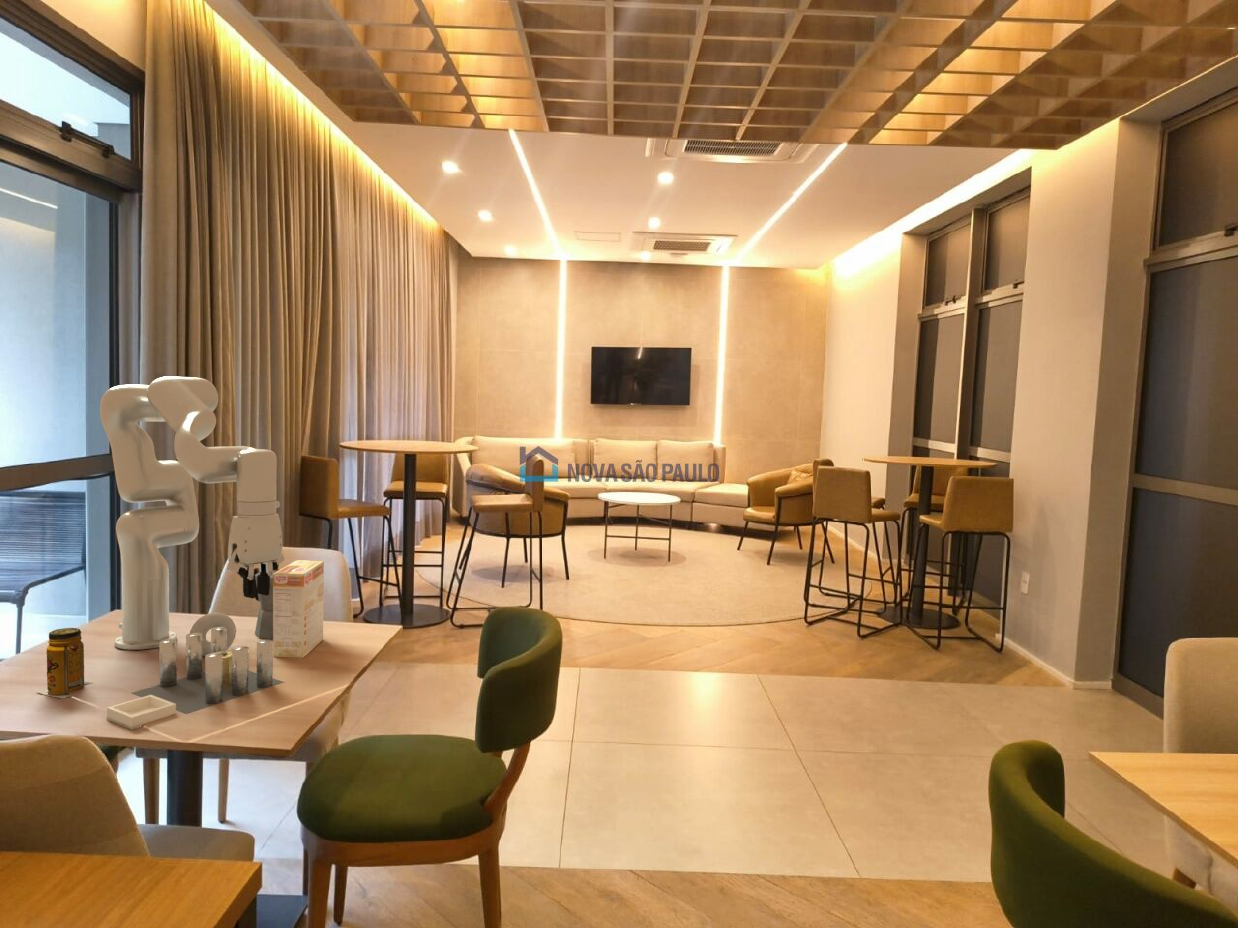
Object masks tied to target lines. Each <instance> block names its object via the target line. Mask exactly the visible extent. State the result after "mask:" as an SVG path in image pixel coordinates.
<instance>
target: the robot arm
mask: <svg viewBox="0 0 1238 928" xmlns="http://www.w3.org/2000/svg"><path fill="white" fill-rule="evenodd" d="M218 403H219V393H218V391H217V389H216V387H215V386H214V384H213V383H212V382H211V381H209V380H208V379H206V378H202V377H196V376H195V377H194V376H193V377H191V376H162V377H159V378H156V379H154V380H152V382H150V384H149V385H148V384H121V385H116V386H113V387H111V388H108V389H107V390H106V391H105V392H104V394H103V395H102V396H101V400H100V405H99V414H100V415H99V416H100V421H101V423H102V426H103V429H104V432H105V434H106V437H107V440H108V441H109V444H110V449H111V455H112V462H113V468H114V474H115V480H116V486H117V491H118V495H119V496H120V498H121V499H122V500H123V501H124V502H126V503H133V504H135V503H136V504H138V503H150V502H151V503H152V502H165V504H166V505H164V506H152V507H142V508H141V507H140V508H134V509H132V510H131V509H130V510H128V511H126V512H124V513H123V514H121V515H120V517H119V518H118V519H117V521H116V523H115V533H116V538H117V543H118V546H119V553H120V563H121V622H119V623H118V628H119V629H121V630H122V631H121V632H122V633H121V634H122V635H119V636H118V637H117V638H115V639H114V646H115V647H116V648H118V649H122V650H127V651H128V650H129V651H133V650H134V651H135V650H136V651H137V650H139V651H140V650H141V651H142V650H150V649H151V650H152V649H156V648H157V649H158V648H160V646H159V642H160V641H161V640H165V639H176V640H178V639H177V638H178V636H177V635H178V634H177V633H176V632H174V631H172V630H170V574H169V572H170V571H169V564H168V562H167V560H166V559H165V557H164V556H163V555H162V554H161V552H160V550H159V549H161V548H165V547H166V548H167V547H171V546H180V545H185V544H188V543H191V542H193V541H194V540H195V539H196V538H197V536H198V535H199V531H200V517H199V511H198V505H197V504H198V503H197V499H196V498H197V497H196V491H195V483H194V480H195V481H198V482H199V483H203V484H219V483H220V484H221V483H234V482H236V515H233V516H232V520H231V523H230V529H229V535H228V546H227V560H228V563H227V568H226V569H227V570H230V571H231V572H235V573H236V574H237V575H238V576H240V577H239V578H241V579H242V591H243V592H242V593H243V597H245V598H249V599H255V597H256V579H253V577H254V569H255V565H258V564H259V567H258V568H259V569H260V575H258V576H257V593H258V594H262V595H266V596H267V595H269V589H270V576H272V574H273V571H274V569H275V568H276V567H277V565H279V566H280V564H282V563H283V562H284V561H285V556H284V554H283V532H282V525H281V520H280V516H279V513H277V508H280V507H281V502H280V501H279V500H277V479H278V477H277V469H278V467H277V461H278V460H277V455H276V453H275V451H273V450H270V449H264V448H261V449H260V448H255V447H251V446H247V445H246V446H245V445H236V446H235V445H234V446H233V445H232V446H231V445H230V446H227V445H226V446H205V445H204V444H203V443H201V441H202V440H204V439H206V438H207V437H209V435H210V434H211V433H213V431H214V429H215V427H216V424H217V417H216V414H215V412H214V411H215V409H217V407H218ZM139 422H141V423H142V422H144V423H147V422H149V423H152V422H154V423H155V422H156V423H157V422H162V423H163V422H164V423H167V424H168V426H169V427H170V428H171V429H172V430H173V431H174V432H175V436H174V440H173V448H174V454H175V457H176V460H157V457H156V453H155V446H154V442H153V439H152V438H151V436H150V435H149V434H148V433H147V431H146V430H145V429H144V428H143V427H142V426H140V425H139V424H138V423H139ZM239 564H240V566H239Z"/></svg>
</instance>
